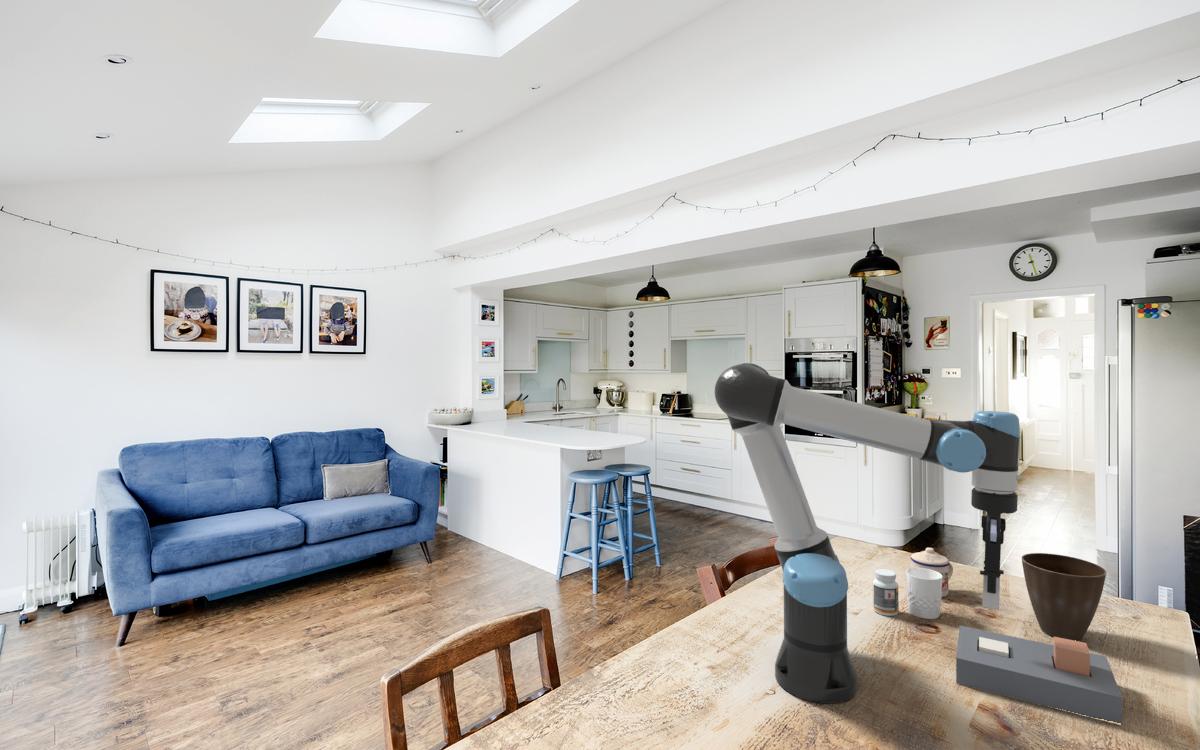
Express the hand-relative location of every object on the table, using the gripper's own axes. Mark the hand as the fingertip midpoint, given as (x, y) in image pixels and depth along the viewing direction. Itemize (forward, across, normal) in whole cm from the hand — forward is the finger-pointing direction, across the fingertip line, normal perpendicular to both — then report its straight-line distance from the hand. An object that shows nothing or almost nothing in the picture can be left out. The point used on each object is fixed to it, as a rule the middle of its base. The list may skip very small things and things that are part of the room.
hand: (990, 606), depth 114 cm
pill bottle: (+14, +19, +21) cm, 32 cm away
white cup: (+14, +23, +13) cm, 30 cm away
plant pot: (+13, +28, -14) cm, 34 cm away
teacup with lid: (+14, +40, +12) cm, 44 cm away
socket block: (+13, 0, -7) cm, 15 cm away
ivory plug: (+13, 0, -1) cm, 13 cm away
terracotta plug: (+10, 0, -13) cm, 16 cm away
